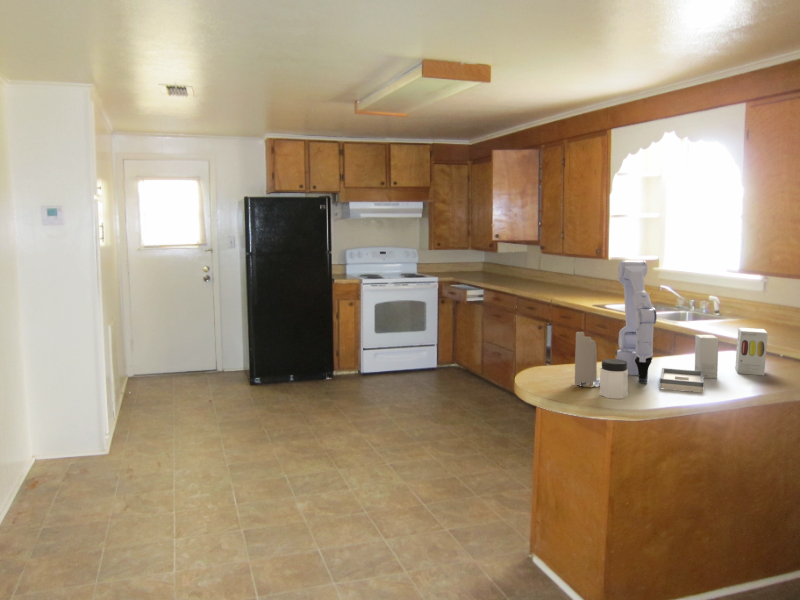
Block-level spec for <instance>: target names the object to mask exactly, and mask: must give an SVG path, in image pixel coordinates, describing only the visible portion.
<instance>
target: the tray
mask: <svg viewBox="0 0 800 600" xmlns="http://www.w3.org/2000/svg"><path fill="white" fill-rule="evenodd" d="M660 372H661V373H660V377H659V389H660V388H664V389H663V390H670V389H674V390H673V391H680V390H684V391H683V392H691V391H693V392H694V393H701V392H702V393H701V394H703V393H704V386H705V382H704V379H705V378H703V371H695V370H691V369H690V370H689V369H679V368H678V369H676V368H669V367H667V368H666V367H662V368H661V371H660ZM675 389H676V390H675ZM693 392H692V393H693Z"/></svg>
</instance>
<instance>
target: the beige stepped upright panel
mask: <svg viewBox="0 0 800 600" xmlns="http://www.w3.org/2000/svg"><path fill="white" fill-rule="evenodd" d="M597 353H598V352H597V343H596V341H595V340H593V339H592V337H591V336H585V332H584V331H577V332H575V353H574V355H575V356H574V385H575V386H576V385H579V384H580V383H581V382H582V383H585V382H586V383H590V382H593V381H596V382H597V378H598V377H597V373H598V372H597V371H598V370H597V368H598V367H597V361H598V360H597V357H598V355H597Z"/></svg>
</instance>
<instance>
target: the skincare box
mask: <svg viewBox="0 0 800 600" xmlns="http://www.w3.org/2000/svg"><path fill="white" fill-rule="evenodd" d="M694 339H695V341H694V343H695V344H694V345H695V348H694V349H695V350H694V371H703V377H704V378H703V379H713V378H715V379H718V370H719V369H718V367H719V365H718V364H719V362H718V361H719V340H720V339H719V337H717V336H715V335H713V334H695V338H694Z"/></svg>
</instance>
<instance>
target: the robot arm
mask: <svg viewBox="0 0 800 600" xmlns="http://www.w3.org/2000/svg"><path fill="white" fill-rule="evenodd" d="M647 273H648V263H647V261H646V260H622V259H621V260H620V261H619V262H618V267H617V277H618V279H617V280H618V283H620V284H621V285H622V287H623V295H624V311H625V312H624V313H625V314H624V315H625V326H624V327H622V328H621V329H620V330H619V332H618V340H617V342H618V348H619V349H617V351H616V359H619V360H624V361H626V362H627V369H628V376H638V373H639V378H640V379H646V376H647V371H648V372H649V367H650V365H651V364H652V360H653V357H654V353H653V352H654V351H653V349H654V348H653V347H654V346H653V345H654V328H655V326H654V325H656V323H657V318H658V317H657V310H656V308H655V307H654V306H653V305H652V301H651V297H650V294H649V292H647V291H646V288H645V278H646V275H647Z"/></svg>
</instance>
